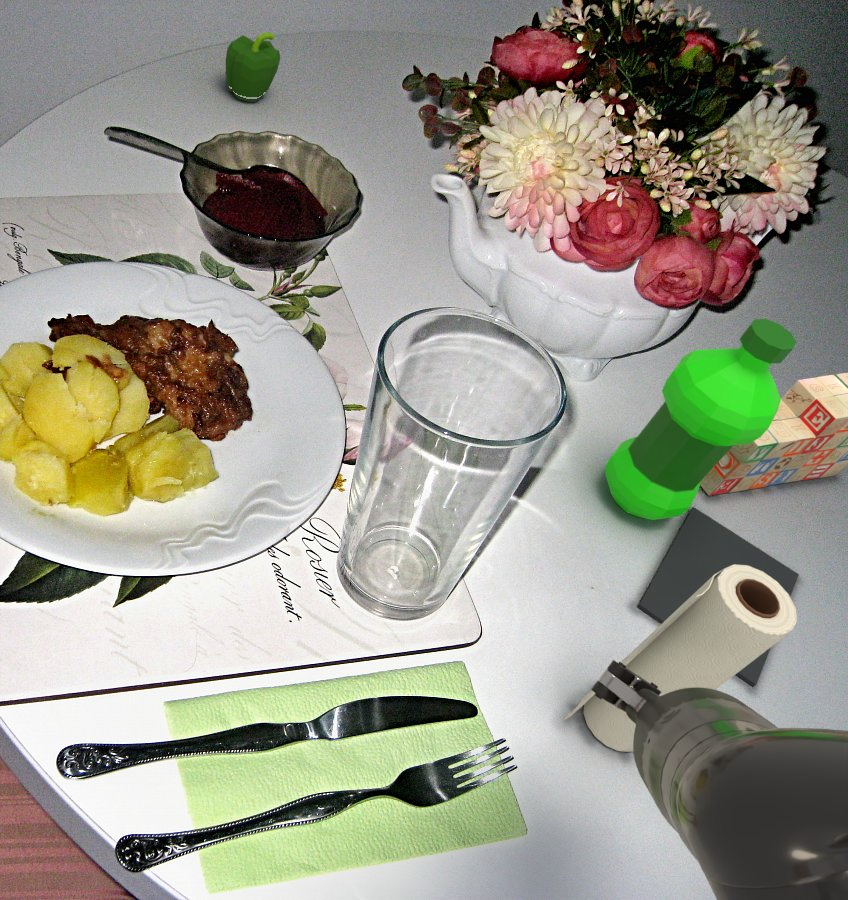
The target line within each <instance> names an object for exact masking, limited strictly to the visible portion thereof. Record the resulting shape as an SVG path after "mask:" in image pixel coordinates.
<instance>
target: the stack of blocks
mask: <svg viewBox="0 0 848 900" xmlns="http://www.w3.org/2000/svg"><path fill="white" fill-rule="evenodd" d="M780 399H781V402H780V405H779V408H778V411H777V413H776V415H775V417H774V419H773V421H772V423H771V425H770V427H769V428H768V429H767V431H766V432H765V433H764V434H763V435H762V436H761V437H760V438H758V439H756V440H755V441H753V442H752V443H750V444H743V445H733V446H732V448H731V449H730V450H729V451H728V452H727V453H726V454H725V455H724V456H723V457H722V458H721V460H720V461H719V462H718V463H717V464H716V465H715V466H714V467H713V468H712V469H711V470H710V472H709V473H708V474H707V475H706V476H705V477H704V478H703V479H702V480H701V483H700V487H701V488H702V489H703V491H704V492H705V493H706V494H707V495H708V496H710V497H711V496H715V495H716V496H717V495H720V494H721V495H722V494H726V493H730V494H731V493H736V492H742V491H746V490H754V489H760V488H765V487H770V486H776V485H782V484H786V483H793V482H798V481H809V480H815V479H819V478H827V477H834V476H837V475H839V473H841V472H842V471H843V469H845V468H846V467H847V466H848V372H842V373H837V374H828V375H827V374H826V375H821V376H816V377H808V378H803V379H797V381H795V383H794V384H792V386H791V387H790V388H789V389H788V390H787V391H786V392H785V393H784V394H783V395H782V396H781V397H780Z"/></svg>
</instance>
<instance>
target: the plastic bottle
mask: <svg viewBox="0 0 848 900" xmlns="http://www.w3.org/2000/svg"><path fill="white" fill-rule="evenodd" d="M739 341H740V346H739V347H738V348H735V347H734V348H733V347H732V348H713V349H711V348H710V349H695V350H692V351H690V352H689V353H687V354H686V355H683V356H682V358H681V359H680V361H679V362H678V363H677V364H676V366H675V367H674V369H673V370H672V372H671V373H670V374H669V376H668V377H667V379H665V382H664V385H663V387H662V390H661V392H662V395H663V398H664V402H663V403H662V405H660V406H659V408H658V410H657V411H656V412H655V414H654V415H653V416H652V417H651V418H650V420H649V421H648V423H646V425H645V426H644V427H643V429H642V430H641V431H640V432H639V434H638V435H637V436H634V437H632V438H629V439H626V440H624V441H623V442H621V443H620V444H619V445H618V446H617V448H616V449H615V451H613V454H612V455H611V456H610V457H609V459H608V461H607V462H606V463H605V469H604V474H605V478H606V482H607V485H608V488H609V491H610V495H611V496H612V497H613V500H614V502H615V503H616V504H617V505H618V506H619V507H620V508H621V509H622V510H623V511H624V512H625V513H627V514H630V515H632V516H635V517H637V518H641V519H647V520H650V521H654V520H662V519H672V518H676V517H679V516H681V515H684V514H685V513H686V512H687V511H688V510H689V508H691V506H692V504H693V502H694V500H695V499H696V497H697V495H698V493H699V490H700V487H701V485H700V483H701V480H702V479H703V478H704V477H705V476H706V475H707V474H708V473H709V472H710V470H711V469H712V468H713V467H714V466H715V465H716V464H717V463H718V462H719V461H720V460H721V458H722V457H723V456H724V455H725V454H726V453H727V452H728V451H729V450H730V449H731V448H732V446H733V445H743V444H750V443H752V442H753V441H755V440H756V439H758V438H760V437H761V436H762V435H763V434H764V433H765V432H766V431H767V429H768V428H769V427H770V425H771V423H772V421H773V419H774V417H775V415H776V413H777V411H778V408H779V405H780V402H781V399H780V398H781V396H780V394H779V391H778V388H777V384H776V382H775V380H774V378H773V375H772V373H771V371H770V369H769V368H770V366H771V365H772V364H781V363H782V362H783V361H784V360H785V359H786V358H787V357H788V355H789V354H790V353H791V352H792V351H793V350H794V348H795V346H796V344H797V343H798V342H797V341H796V339H795V337H794V335H793V334H792V332H791V331H789V330H788V329H787V328H786V327H785V326H783V325H781V324H780V323H778V322H776V321H774V320H770V319H768V318H755V319H754V320H753V321H752V322H751V323H750V324H749V326H748V327H747V328H746V329H745V331H744V332H743V333H742V335H740V338H739Z"/></svg>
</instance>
